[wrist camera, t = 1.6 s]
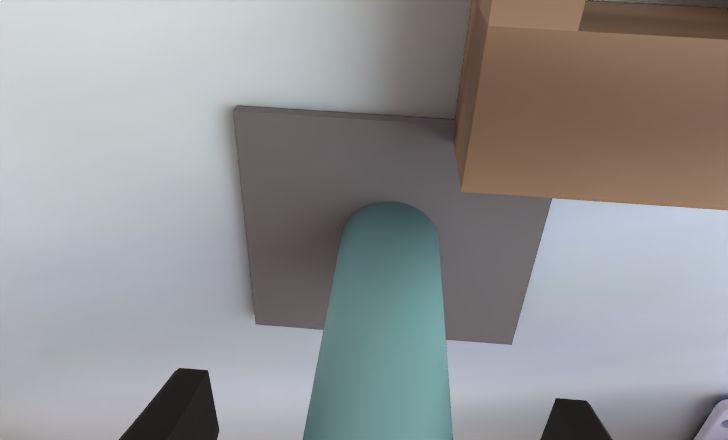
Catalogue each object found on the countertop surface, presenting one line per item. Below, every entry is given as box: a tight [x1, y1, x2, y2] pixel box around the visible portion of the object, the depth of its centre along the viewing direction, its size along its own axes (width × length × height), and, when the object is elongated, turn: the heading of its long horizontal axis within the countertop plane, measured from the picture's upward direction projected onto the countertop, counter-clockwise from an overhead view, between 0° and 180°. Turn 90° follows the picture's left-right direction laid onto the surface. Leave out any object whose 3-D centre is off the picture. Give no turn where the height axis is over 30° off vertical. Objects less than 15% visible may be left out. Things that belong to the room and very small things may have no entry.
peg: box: [303, 201, 453, 440], centre depth 13 cm, size 3×3×9 cm
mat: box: [233, 106, 552, 345], centre depth 17 cm, size 8×9×1 cm
